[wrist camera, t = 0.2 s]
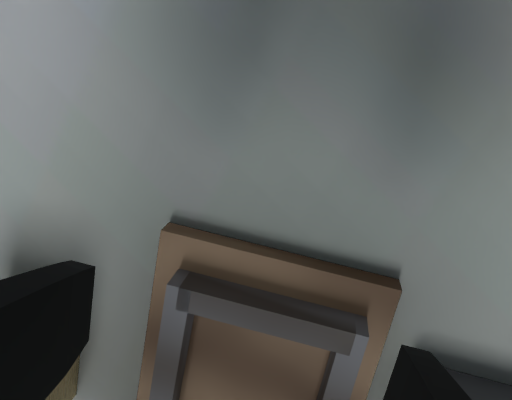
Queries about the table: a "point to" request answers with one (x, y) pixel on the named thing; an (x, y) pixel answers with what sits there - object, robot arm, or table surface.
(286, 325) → the framed wooden tray
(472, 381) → the button housing
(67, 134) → the table surface
